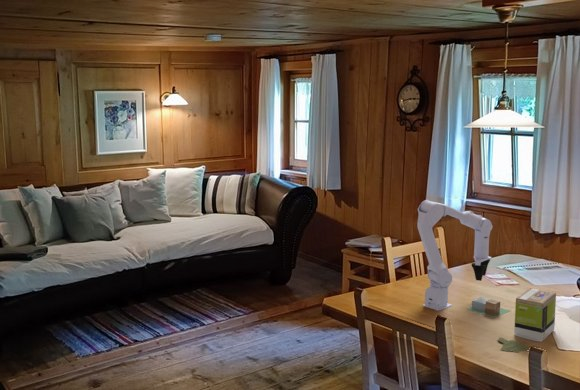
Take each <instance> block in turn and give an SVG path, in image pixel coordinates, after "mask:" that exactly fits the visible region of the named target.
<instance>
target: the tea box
mask: <svg viewBox="0 0 580 390" xmlns="http://www.w3.org/2000/svg"><path fill="white" fill-rule="evenodd" d="M556 300H557V293H556V292H553V291H547V290H541V289H536V288H531V287H529V289H527V290H526V291H524V292H523V293H521V294H520V295H519V296H517V297H516V298H515V305H514V306H515V307H514V308H515V310H514V328H513V329H514V330H513V331H514V333H513V335H514V336H517V337H520V338H521V339H525V340H530V341H534V342H538V343H542V342H543V341H544V340H545V339H546V338H547V337H548V336H549V335H550V334H552V333H553V332H554V331H555V327H556V326H555V323H556V320H555V319H556V305H557V304H556V302H557V301H556Z"/></svg>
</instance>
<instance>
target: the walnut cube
mask: <svg viewBox="0 0 580 390" xmlns="http://www.w3.org/2000/svg"><path fill="white" fill-rule="evenodd" d="M500 308H501V301H500V300H496V299H492V298H491V299H488V301H486V307H485V314H489V315H492V316H496V315H498V314H500Z"/></svg>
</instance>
